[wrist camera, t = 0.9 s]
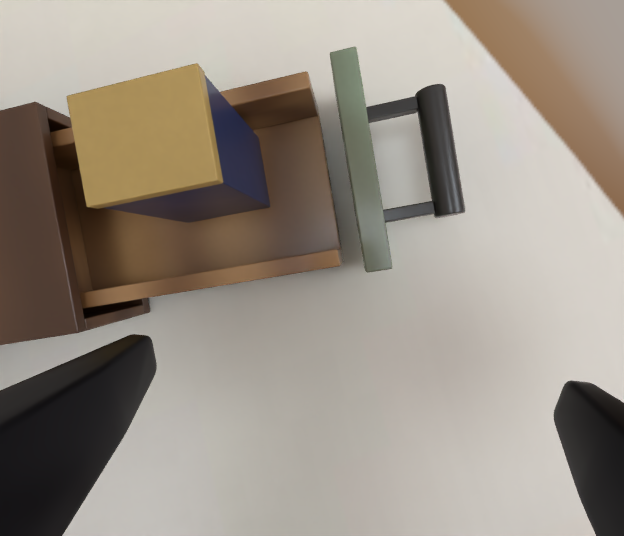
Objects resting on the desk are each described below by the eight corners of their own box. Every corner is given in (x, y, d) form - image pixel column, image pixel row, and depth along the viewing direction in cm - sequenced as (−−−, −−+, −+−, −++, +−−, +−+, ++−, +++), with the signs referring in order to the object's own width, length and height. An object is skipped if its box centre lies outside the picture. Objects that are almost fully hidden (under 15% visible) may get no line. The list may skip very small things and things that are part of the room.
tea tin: (271, 207, 21) (217, 180, 13) (187, 224, 21) (85, 207, 13) (259, 135, 21) (197, 62, 13) (174, 154, 21) (65, 95, 13)
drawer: (426, 75, 20) (446, 23, 16) (455, 253, 20) (483, 253, 16) (68, 156, 23) (-3, 132, 19) (96, 312, 23) (33, 326, 19)
